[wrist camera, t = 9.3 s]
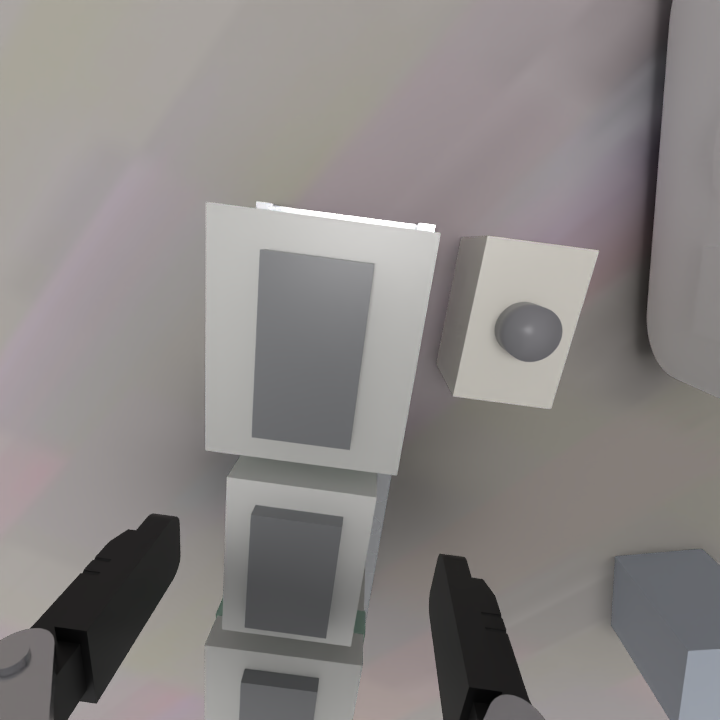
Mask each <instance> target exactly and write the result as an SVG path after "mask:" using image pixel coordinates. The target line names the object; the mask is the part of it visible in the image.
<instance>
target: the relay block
mask: <svg viewBox="0 0 720 720" xmlns="http://www.w3.org/2000/svg"><path fill="white" fill-rule="evenodd" d="M611 626H612V627H613V629H614V631H615V632H616V634H617V635H618V637H619V639H620V640H621V642H622V644H623V645H624V647H625V648H626V650H627V652H628V653H629V655H630V656H631V658H632V660H633V661H634V663H635V664H636V666H637V668H638V669H639V671H640V673H641V674H642V676H643V677H644V679H645V681H646V682H647V684H648V685H649V687H650V689H651V690H652V692H653V693H654V695H655V697H656V698H657V700H658V702H659V703H660V705H661V706H662V708H663V710H664V711H665V713H666V714H667V716H668V718H669V719H670V720H720V565H719V564H718V563H717V562H716V561H715V560H713V559H712V558H711V557H710V556H709V555H708V554H707V553H706V552H705V551H704V550H703V549H693V550H681V551H670V552H658V553H647V554H635V555H624V556H615V568H614V585H613V602H612V619H611Z"/></svg>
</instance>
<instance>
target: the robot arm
mask: <svg viewBox="0 0 720 720" xmlns="http://www.w3.org/2000/svg"><path fill="white" fill-rule="evenodd" d="M179 562H180V523H179V518H178V517H175V516H168V515H160V514H151V515H149V516H148V517H147V518H146V519H145V521H144V522H143V523H142V524H141V525H140V526H139V528H138V529H137V530H129V529H128V530H127V531H125V532H123V533H122V534H120V535H119V536H117V537H116V538H114V539H113V540H111V541H110V542H109V543H108V544H107V545H106V546H105V547H104V548H103V549H102V550H101V551H100V553H99V554H98V555H97V556H96V557H95V560H92V561H91V562H90V564H89V565H88V566H87V567H86V568H85V569H84V571H83V573H80V575H79V576H78V577H77V578H76V579H75V580H74V581H73V582H72V583H71V584H70V586H69V587H68V588H67V589H66V590H65V591H64V592H63V593H62V594H61V595H60V597H59V598H58V599H57V600H56V601H55V602H54V603H53V604H52V605H51V606H50V608H49V609H48V610H47V611H46V612H45V613H44V614H43V615H42V616H41V617H40V619H39V620H38V621H37V622H36V623H35V624H34V625H33V626H32V627H31V628H30V629H25V630H22V631H19V632H16V633H14V634H11V635H9V636H7V637H5V638H3V639H2V640H0V720H68V718H69V716H70V715H71V713H72V712H73V710H74V709H75V707H76V706H77V704H78V703H79V701H82V702H89V703H96V704H97V702H98V700H99V699H100V697H101V695H102V694H103V692H104V691H105V689H106V687H107V686H108V684H109V682H110V681H111V679H112V678H113V676H114V674H115V673H116V671H117V669H118V668H119V666H120V665H121V663H122V661H123V660H124V658H125V657H126V655H127V653H128V652H129V650H130V648H131V647H132V645H133V644H134V642H135V640H136V639H137V637H138V635H139V634H140V632H141V631H142V629H143V627H144V626H145V624H146V622H147V621H148V619H149V618H150V616H151V614H152V613H153V611H154V610H155V608H156V606H157V605H158V603H159V601H160V600H161V598H162V597H163V595H164V593H165V592H166V590H167V588H168V587H169V585H170V584H171V582H172V580H173V579H174V577H175V575H176V572H177V569H178V566H179ZM429 615H430V623H431V631H432V638H433V646H434V653H435V661H436V668H437V676H438V683H439V691H440V698H441V706H442V713H443V720H545V719H544V718H543V716H542V715H541V714H540V713H539V712H538V710H537V709H536V708H534V707H533V706H532V704H531V702H530V700H529V698H528V695H527V692H526V689H525V686H524V683H523V680H522V677H521V674H520V671H519V668H518V665H517V662H516V659H515V655H514V652H513V649H512V646H511V643H510V640H509V637H508V634H506V628H505V625H504V622H503V619H502V618H501V613H500V610H499V606H498V603H497V600H496V597H495V595H494V594H493V592H492V591H491V590H490V588H489V587H488V586H487V584H486V583H485V582H484V580H483V579H477V578H471V574H470V571H469V567H468V563H467V560H466V558H465V557H460V556H453V555H445V554H439V556H438V560H437V564H436V568H435V573H434V577H433V581H432V586H431V590H430V597H429Z"/></svg>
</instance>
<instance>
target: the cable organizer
mask: <svg viewBox="0 0 720 720" xmlns="http://www.w3.org/2000/svg"><path fill="white" fill-rule="evenodd" d="M647 331H648V337H649V342H650V345H651V349H652V351H653V354H654V356H655V358H656V360H657V362H658V363H659V365H660V366H661V368H662V369H663V370H664V371H665V372H666V373H667V374H668V375H670V376H671V377H673V378H675V379H677V380H679V381H682V382H684V383H686V384H688V385H690V386H693V387H695V388H697V389H699V390H701V391H704V392H706V393H708V394H710V395H713V396H715V397H717V398H719V399H720V0H673V2H672V7H671V13H670V21H669V34H668V46H667V59H666V72H665V85H664V98H663V111H662V123H661V136H660V149H659V162H658V175H657V188H656V201H655V213H654V226H653V239H652V252H651V265H650V278H649V291H648V303H647Z"/></svg>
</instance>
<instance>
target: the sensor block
mask: <svg viewBox="0 0 720 720" xmlns="http://www.w3.org/2000/svg"><path fill="white" fill-rule="evenodd" d="M598 253H599V250H592V249H585V248H577V247H570V246H562V245H555V244H547V243H540V242H532V241H524V240H517V239H509V238H502V237H494V236H475V237H461V240H460V245H459V250H458V256H457V261H456V266H455V271H454V276H453V281H452V286H451V291H450V296H449V301H448V306H447V311H446V317H445V322H444V327H443V332H442V337H441V342H440V347H439V352H438V357H437V362H436V364H437V366H438V368H439V370H440V372H441V374H442V376H443V378H444V380H445V382H446V384H447V386H448V388H449V390H450V392H451V394H452V396H454V397H461V398H469V399H476V400H484V401H492V402H499V403H507V404H514V405H522V406H530V407H537V408H545V409H551V407H552V404H553V401H554V398H555V394H556V391H557V388H558V384H559V381H560V378H561V375H562V371H563V368H564V365H565V361H566V358H567V355H568V352H569V348H570V345H571V342H572V338H573V335H574V332H575V329H576V325H577V322H578V319H579V316H580V312H581V309H582V306H583V302H584V299H585V296H586V293H587V289H588V286H589V283H590V279H591V276H592V273H593V270H594V266H595V263H596V260H597V256H598Z"/></svg>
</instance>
